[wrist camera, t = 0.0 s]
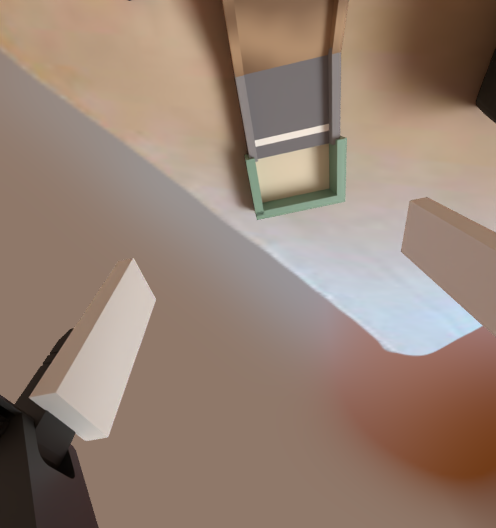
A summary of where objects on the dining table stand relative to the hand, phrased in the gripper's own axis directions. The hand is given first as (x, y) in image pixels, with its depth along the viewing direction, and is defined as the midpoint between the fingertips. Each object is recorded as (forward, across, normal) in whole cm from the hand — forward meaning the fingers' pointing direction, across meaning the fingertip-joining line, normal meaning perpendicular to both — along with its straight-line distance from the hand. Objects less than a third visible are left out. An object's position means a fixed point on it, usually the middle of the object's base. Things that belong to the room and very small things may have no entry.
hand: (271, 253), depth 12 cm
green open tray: (+28, +7, -5) cm, 29 cm away
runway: (+28, +7, +4) cm, 29 cm away
